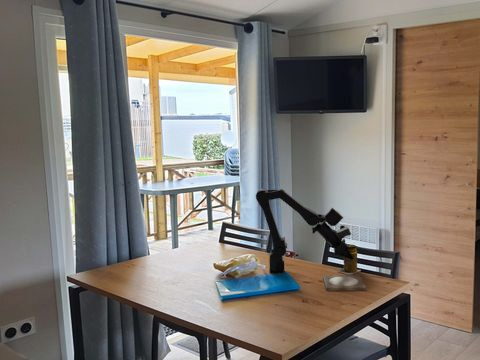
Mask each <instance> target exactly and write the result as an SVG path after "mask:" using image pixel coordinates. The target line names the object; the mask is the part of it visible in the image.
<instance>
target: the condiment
mask: <svg viewBox="0 0 480 360" xmlns="http://www.w3.org/2000/svg"><path fill="white" fill-rule="evenodd" d="M347 245H348V247H347V249H348V251H349V252H350V253H351V255H352V256H353V259H349V258H346V257H344V256H343V268H342V269H339V270H337V272H338V273H342V274H346V275H353V274H355V273H356V274H357V273H358V272H361V271H362V270H361V269H358V250H357V245H355V244H349V243H348V244H347Z"/></svg>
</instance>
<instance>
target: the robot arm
mask: <svg viewBox="0 0 480 360" xmlns="http://www.w3.org/2000/svg"><path fill="white" fill-rule="evenodd" d="M255 199H256V202H258V205H259V207H260V208H261V210H262V212H263V215H264V217H265V221H266V224H267V226H268V229H269V233H270V235H271V239H272V249H271V251H269V257H268V258H269V261H268V262H269V269H268V270H269V273H270V274H273V273H274V274H282V273H283V274H284V271H285V260H284V256H285V255H286V254H287V249H288V243H287V242H286V237H285V236H284V237H282V236H281V235H280V231H279V228H278V225H277V223H276V219H275V216H274V213H273V210H272V207H271V201H272V200H277V199H279V200H281V201H282V202H284V203H286V205H288V206H289V207H290V208H291V209H293V210H294V211H295V212H297V213H298V214H299V215H300V216H301V217H302V219H303V220H304V221H305V222H306V223H307V225H308V226H311V233H312V234H316V232H317V233H318V234H319V235H320V236H321V237H322V239H324V241H325V242H326V243H328V244H329V245H330V247H331V248H332V249H333V252H334V254H335V255H336V256H341V257H343V258H344V257H346V258H349V259H353V256H352V255H351V253H350V252H349V251H348V249H347V247H348V244H347V243H346V239H345V237H347V236H351V235H352V232H351V231H350V229H349V226H347V225H346V226H345V225H344V224H341V225H340V226H339V229H338V230H336V229H333V228H332V227H336V226H337V225H338V224H339V223H340V222H341V221H342V220H343V219H344V216H343V215H342V214H341V213H340V212H339V211H338V210H336V209H334V207H331V208H330V209H329V211H328V212H327V213H326V214H325V215H324V214H319V213H317V212H316V211H314V210H312V209H310V208H308V207H306V206H304V205H303V204H301V203H300V202H299V201H298V200H296V199H295V198H293V196H291V195H290V194H289V193H288V192H286V191H285V190H284V189H283V188H279V189H266V188H260V189H258V190H257V192H256V194H255Z"/></svg>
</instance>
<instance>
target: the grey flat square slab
mask: <svg viewBox="0 0 480 360" xmlns="http://www.w3.org/2000/svg"><path fill="white" fill-rule="evenodd" d="M322 280H323V283H324V287H325V290H326V292H327V291H331V292H332V291H335V292H336V291H341V292H342V291H367V286H366V284H365V282H364V281H363V278H362V277H361V275H359V274H358V275H356V274H355V275H353V274H351V275H350V274H346V275H341V274H340V275H322Z"/></svg>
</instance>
